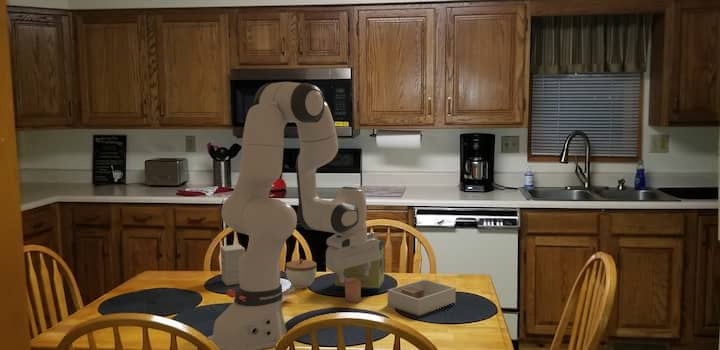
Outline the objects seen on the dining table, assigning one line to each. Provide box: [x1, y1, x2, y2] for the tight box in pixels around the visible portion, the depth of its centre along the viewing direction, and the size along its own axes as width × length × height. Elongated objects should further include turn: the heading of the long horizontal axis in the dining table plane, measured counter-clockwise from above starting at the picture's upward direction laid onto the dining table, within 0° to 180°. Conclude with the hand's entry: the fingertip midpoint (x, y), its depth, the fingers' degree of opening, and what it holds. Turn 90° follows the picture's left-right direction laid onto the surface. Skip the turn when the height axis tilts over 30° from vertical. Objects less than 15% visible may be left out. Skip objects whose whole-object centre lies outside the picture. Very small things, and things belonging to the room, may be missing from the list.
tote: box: [387, 278, 457, 317], centre depth 203 cm, size 13×17×5 cm
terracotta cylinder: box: [344, 278, 362, 305], centre depth 206 cm, size 5×5×7 cm
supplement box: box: [220, 243, 246, 286], centre depth 228 cm, size 7×7×13 cm
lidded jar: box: [285, 258, 317, 289], centre depth 223 cm, size 11×11×9 cm
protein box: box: [334, 240, 385, 293], centre depth 221 cm, size 10×16×16 cm
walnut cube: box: [402, 286, 424, 299], centre depth 200 cm, size 5×5×5 cm
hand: (354, 278), depth 206 cm, fingers open, 8 cm apart
